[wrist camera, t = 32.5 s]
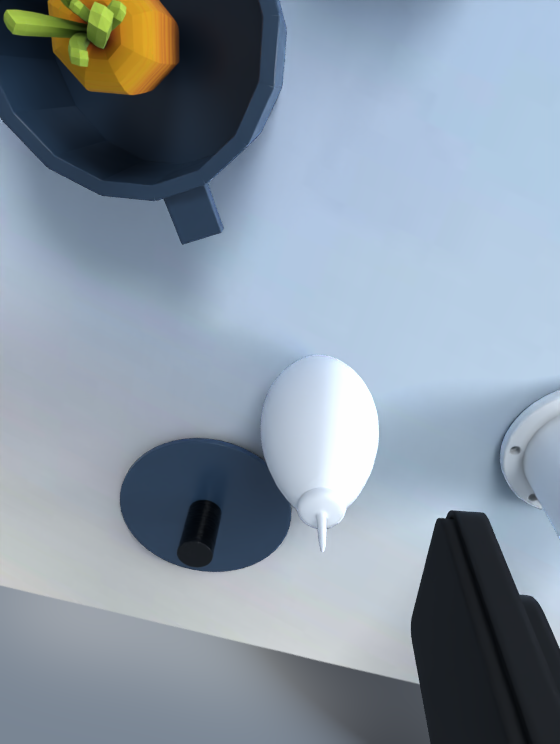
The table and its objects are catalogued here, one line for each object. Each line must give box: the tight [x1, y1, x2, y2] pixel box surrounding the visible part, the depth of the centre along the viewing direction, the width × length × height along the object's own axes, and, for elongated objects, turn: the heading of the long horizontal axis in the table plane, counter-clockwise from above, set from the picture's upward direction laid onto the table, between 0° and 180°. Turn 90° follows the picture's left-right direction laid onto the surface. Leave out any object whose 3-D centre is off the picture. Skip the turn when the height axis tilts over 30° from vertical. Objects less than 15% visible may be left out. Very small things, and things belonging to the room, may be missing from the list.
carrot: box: [4, 0, 179, 95], centre depth 25 cm, size 5×5×15 cm
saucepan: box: [0, 0, 287, 244], centre depth 28 cm, size 15×20×8 cm
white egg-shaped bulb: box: [260, 355, 379, 552], centre depth 34 cm, size 8×8×18 cm
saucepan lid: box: [120, 438, 291, 572], centre depth 47 cm, size 16×16×6 cm
